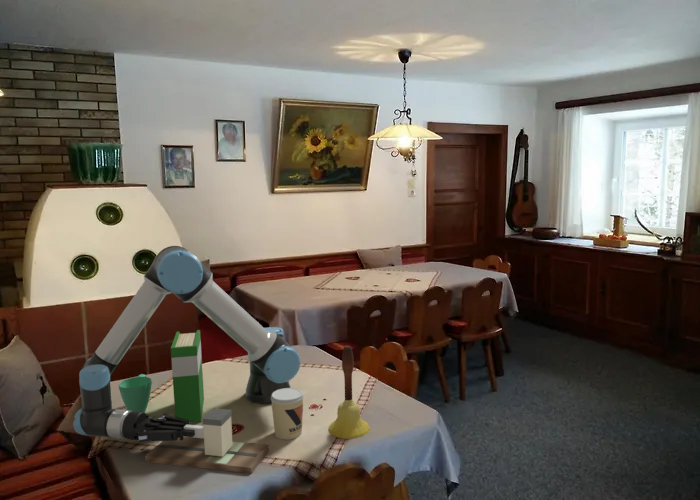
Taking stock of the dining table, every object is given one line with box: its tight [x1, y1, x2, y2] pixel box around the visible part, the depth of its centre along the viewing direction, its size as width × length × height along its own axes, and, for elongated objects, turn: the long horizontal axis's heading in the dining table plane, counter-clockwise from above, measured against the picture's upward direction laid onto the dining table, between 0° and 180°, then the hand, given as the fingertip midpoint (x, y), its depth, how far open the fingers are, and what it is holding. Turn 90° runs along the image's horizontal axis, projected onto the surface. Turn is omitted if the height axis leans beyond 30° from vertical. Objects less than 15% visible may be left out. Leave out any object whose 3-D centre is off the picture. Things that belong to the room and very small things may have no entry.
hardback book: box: [170, 329, 205, 424], centre depth 172 cm, size 18×7×24 cm, turn 12°
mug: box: [118, 373, 153, 413], centre depth 175 cm, size 15×10×10 cm
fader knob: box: [201, 408, 233, 456], centre depth 144 cm, size 5×6×10 cm
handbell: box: [327, 345, 371, 440], centre depth 158 cm, size 12×12×25 cm
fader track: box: [144, 436, 270, 474], centre depth 145 cm, size 30×12×2 cm, turn 77°
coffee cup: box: [271, 387, 305, 440], centre depth 156 cm, size 9×9×12 cm
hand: (207, 432), depth 144 cm, fingers closed
